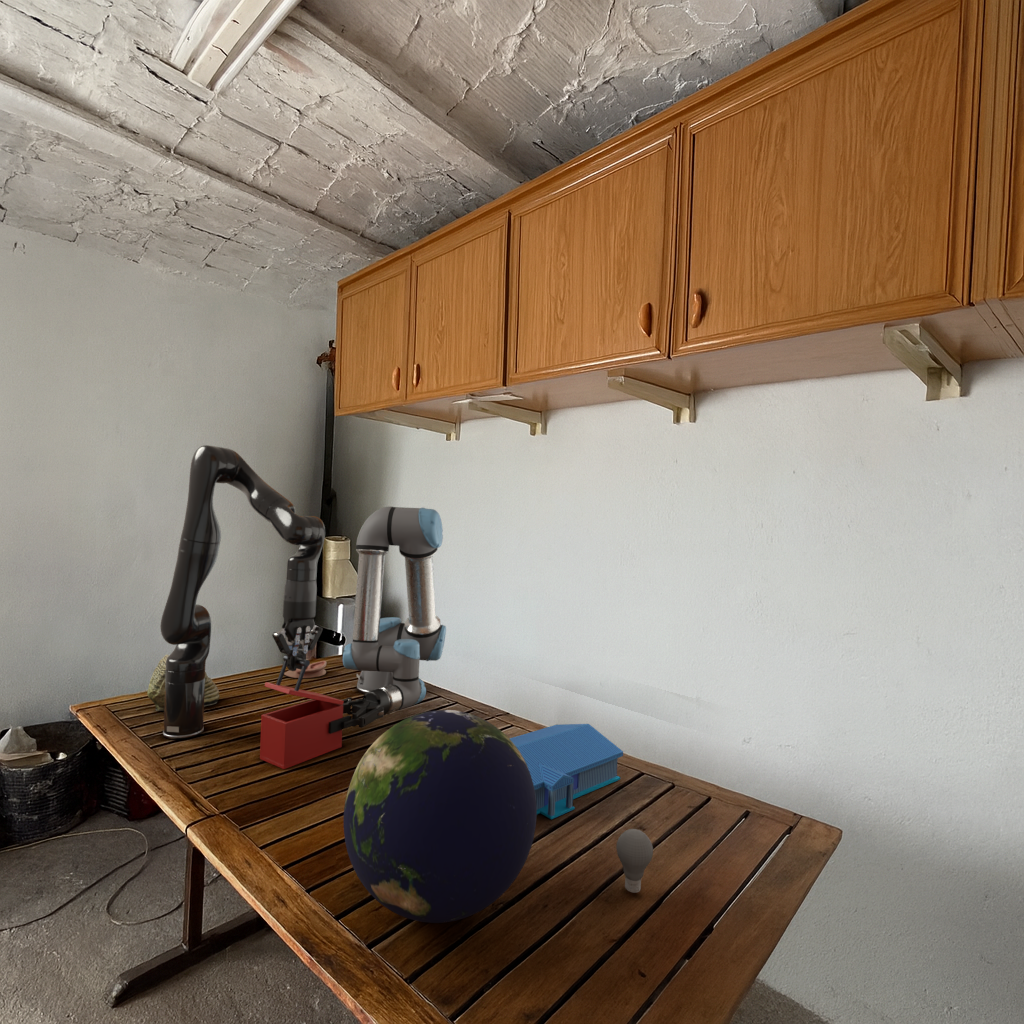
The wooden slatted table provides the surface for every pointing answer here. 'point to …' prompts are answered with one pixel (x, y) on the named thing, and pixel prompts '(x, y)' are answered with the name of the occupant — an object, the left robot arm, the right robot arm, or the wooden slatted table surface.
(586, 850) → the wooden slatted table surface
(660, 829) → the wooden slatted table surface
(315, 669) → the anatomical model
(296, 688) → the lid
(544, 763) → the model building
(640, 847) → the light bulb
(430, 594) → the right robot arm
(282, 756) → the chest
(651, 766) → the wooden slatted table surface
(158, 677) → the fossil
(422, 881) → the globe
